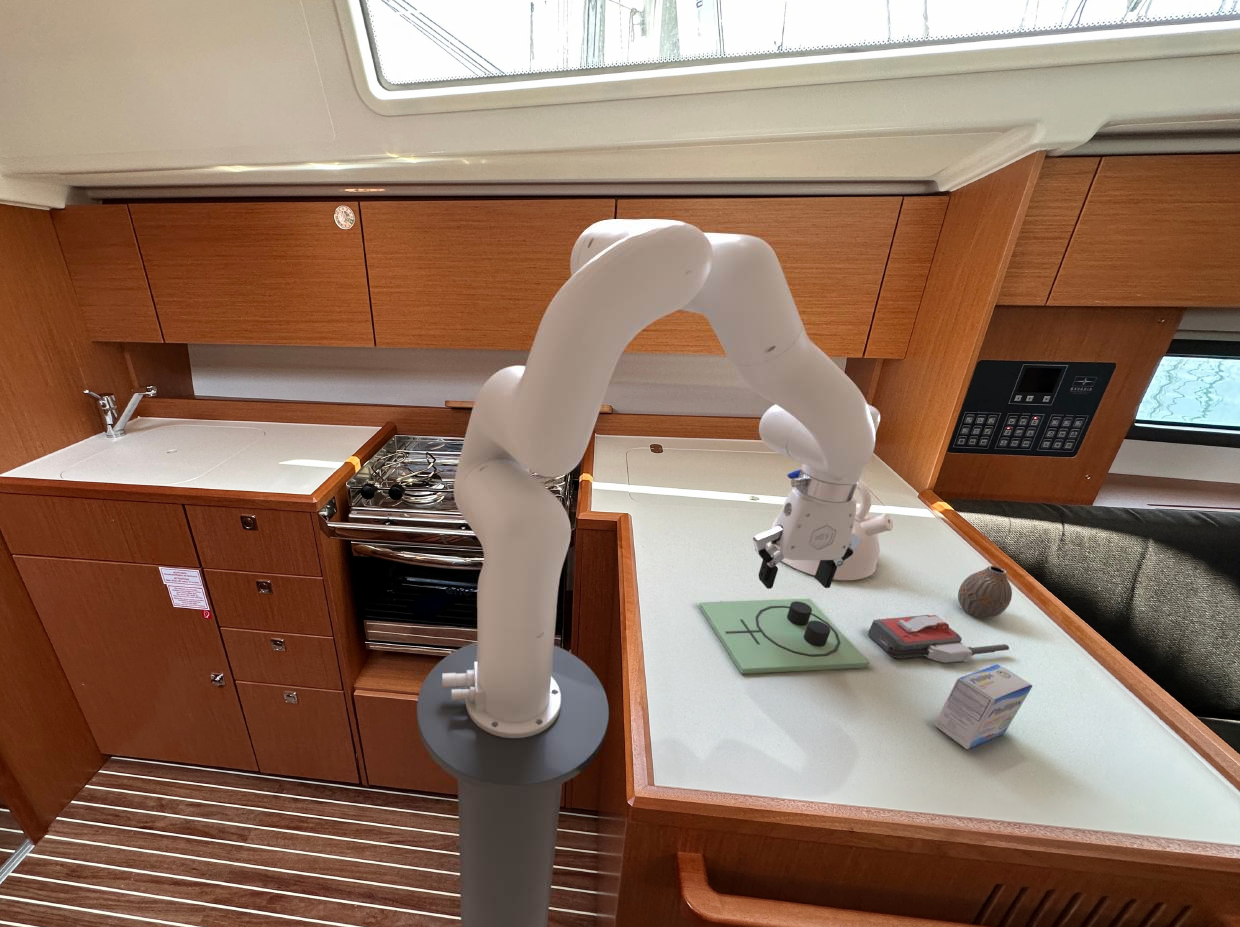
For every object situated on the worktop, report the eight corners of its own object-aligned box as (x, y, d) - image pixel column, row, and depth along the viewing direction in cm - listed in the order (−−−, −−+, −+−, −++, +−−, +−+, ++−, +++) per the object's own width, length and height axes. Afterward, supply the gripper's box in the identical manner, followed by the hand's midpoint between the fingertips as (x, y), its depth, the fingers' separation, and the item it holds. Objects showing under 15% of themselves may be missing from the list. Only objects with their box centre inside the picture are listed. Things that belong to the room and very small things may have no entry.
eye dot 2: (810, 647, 86) (815, 634, 85) (799, 633, 89) (803, 620, 88) (830, 646, 86) (834, 633, 85) (818, 633, 89) (822, 620, 88)
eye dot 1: (793, 626, 90) (797, 613, 89) (783, 614, 93) (787, 601, 92) (811, 625, 91) (816, 612, 90) (801, 613, 94) (805, 600, 92)
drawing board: (741, 674, 82) (742, 668, 81) (698, 607, 96) (700, 602, 95) (867, 667, 84) (869, 662, 83) (808, 603, 98) (809, 598, 98)
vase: (1002, 629, 93) (1026, 585, 89) (953, 614, 97) (974, 572, 93) (998, 608, 99) (1020, 566, 95) (951, 595, 102) (970, 554, 98)
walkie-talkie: (898, 671, 83) (1010, 658, 87) (909, 648, 81) (1023, 636, 85) (857, 633, 91) (961, 623, 94) (866, 611, 89) (972, 601, 92)
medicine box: (966, 751, 71) (995, 701, 67) (932, 725, 74) (957, 676, 70) (1005, 734, 73) (1035, 685, 70) (970, 709, 77) (996, 661, 73)
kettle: (850, 595, 101) (883, 506, 92) (746, 547, 115) (767, 466, 106) (893, 559, 112) (927, 477, 104) (794, 520, 126) (816, 445, 118)
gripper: (783, 496, 77) (753, 598, 85) (897, 497, 79) (858, 596, 87) (757, 475, 84) (731, 571, 92) (863, 476, 86) (829, 570, 93)
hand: (793, 583), depth 89 cm, fingers open, 9 cm apart
